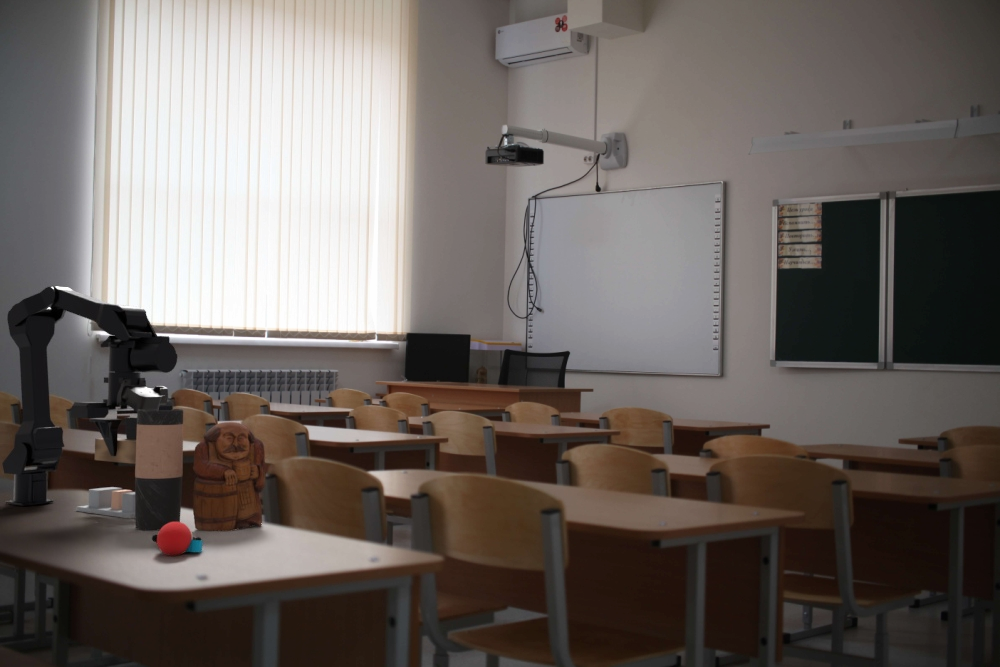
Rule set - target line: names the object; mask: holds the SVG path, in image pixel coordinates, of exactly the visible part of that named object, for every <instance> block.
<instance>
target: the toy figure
mask: <svg viewBox="0 0 1000 667" xmlns="http://www.w3.org/2000/svg"><path fill="white" fill-rule="evenodd" d="M151 540H152V541H153V542H155V544H156V545H157V546H158V549H159V550H160V552H162V554H164V555H167V556H179V555H180V556H181V555H182V554H184V553H188V552H189V553H202V551H203V544H204V540H203V539H202V538H201V537H200V536H199V537H198V536H197V537H194V536H193V532H192V531H191V529H190V528H189V526H188V525H186V524H185V523H183V522H181V521H180V522H170V523H168V524H166V525H164V526H163V527H162V528H161V529H160V530H158V533H157V534H156V533H155V534H153V535H152V537H151Z"/></svg>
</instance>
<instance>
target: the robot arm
mask: <svg viewBox="0 0 1000 667" xmlns="http://www.w3.org/2000/svg"><path fill="white" fill-rule="evenodd" d="M7 312H8V313H7V325H8V330H9V331H8V332H9V335H10V337H11V339H12V340H13V342H14V343H15V345H16V346H17V348H18V351H19V368H20V370H19V371H20V386H21V389H20V390H21V406H22V407H21V409H22V410H21V411H22V423H21V424H20V425H19V428H18V429H17V431H16V433H15V435H14V444H13V445H14V446H13V449H12V450H11V451H10V453H9V454H8V455H7V456H6V457H5V459H4V460H3V462H2V464H1V465H2V470H3V473H4V474H7V475H8V474H9V475H13V490H12V492H13V494H12V500H11V499H10V500H5V504H9V505H15V506H21V507H23V506H26V507H27V506H34V505H43V504H44V505H45V504H51V503H54V501H55V500H54V499H49V498H48V472H56V471H57V469H58V466H59V462H60V459H61V457H62V454H63V448H65V443H64V441H63V440H64V439H63V436H64V430H63V427H62V426H56V424H55V423H54V422H53V421H52V419H51V400H50V385H49V384H50V383H49V381H50V380H49V367H48V366H49V364H48V346H49V345H50V343H51V341H52V339H53V337H54V335H55V330H56V324H57V323H58V322H60V321H61V320H62V319H64V318H65V315H66V312H67V313H68V312H69V313H71V314H74V315H77V316H79V317H82V318H83V319H84V318H85V319H87V320H90V321H93V322H94V323H96V325H97V327H98V328H99V329H100V330H102V331H104V332H105V333H106V334H108V337H107V338H106V339H105V340H103V341H102V343H100V344H99V345H100V348H103V349H104V348H105V349H108V369H107V370H108V373H107V374H108V375H107V376H108V377H106V376H105V377H103V383H104V384H106V383H107V399H106V398H103V399H102V400H103V401H102V402H101V401H100V402H99V401H79V402H78V401H77V402H76V401H74V402H73V405H72V406H71V407H70V415H69V416H70V418H76V419H89V422H90V423H91V422H93V423H94V425H95V427H96V428H97V430H98V431H99V433H100V435H101V438H103V439H104V442H105V444H106V446H107V448H108V450H109V453H110V455H111V456H116V453H117V438H118V428H119V427H120V425H121V422H122V421H123V419H122V418H121V419H119V418H118V415H129V416H127V417H126V416H125V417H124V422H125V435H126V436H125V437H126V438H125V439H133V440H136V436H137V411H138V410H139V409H157V410H158V411H160V410H172V409H174V406H173V404H172V403H171V400H169V390H168V387H166V386H164V385H156V386H154V388H152V387H151V388H150V387H147V385H146V384H147V380H146V377H141V376H142V375H141V374H142V373H154V374H157V373H158V374H159V373H161V374H164V373H166V374H167V373H170V372H172V371H173V370H174V369H175V367H176V365H177V363H178V354H177V350H176V348H175V346H174V345H173V344H172V343H171V342H170V337H169V336H166V335H157V332H156V330H155V329H154V327H153V325H152V324H151V322H150V320H149V318H148V316H147V311H146V310H145V309H144V308H142V307H141V306H132V305H131V306H130V305H124V304H123V305H122V304H113V303H110V302H107V301H104V300H101V299H97V298H96V297H93V296H90V295H86V294H84V293H81V292H78V291H75V290H73V289H71V288H70V287H67V286H57V285H56V286H55V285H50V286H47V287H45V288H44V289H42V290H41V291H39V292H38V293H36V294H33V295H31V296H28V297H26V298H24V299H22V300H21V301H19V302H18V303H15V304H14V305H13V306H12V307H11V308H10V310H8V311H7Z"/></svg>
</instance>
